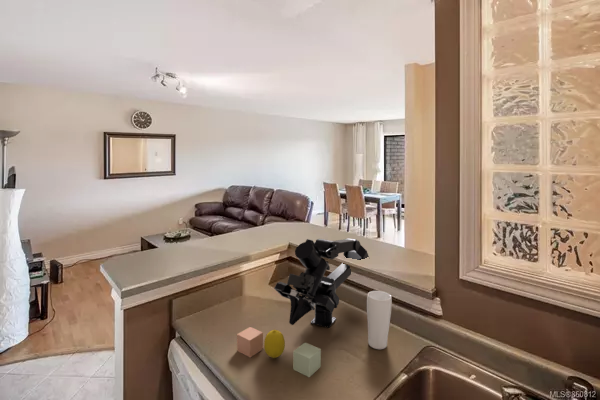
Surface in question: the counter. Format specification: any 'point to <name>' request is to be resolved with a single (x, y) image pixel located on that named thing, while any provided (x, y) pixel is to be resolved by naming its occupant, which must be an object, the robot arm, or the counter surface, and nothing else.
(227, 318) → the counter surface
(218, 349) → the counter surface
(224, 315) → the counter surface
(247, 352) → the terracotta block
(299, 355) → the sage block
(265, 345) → the lemon
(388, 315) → the drinking glass
